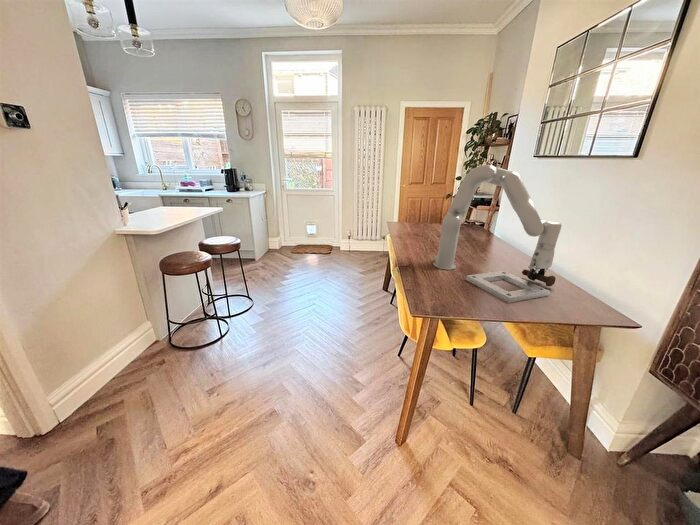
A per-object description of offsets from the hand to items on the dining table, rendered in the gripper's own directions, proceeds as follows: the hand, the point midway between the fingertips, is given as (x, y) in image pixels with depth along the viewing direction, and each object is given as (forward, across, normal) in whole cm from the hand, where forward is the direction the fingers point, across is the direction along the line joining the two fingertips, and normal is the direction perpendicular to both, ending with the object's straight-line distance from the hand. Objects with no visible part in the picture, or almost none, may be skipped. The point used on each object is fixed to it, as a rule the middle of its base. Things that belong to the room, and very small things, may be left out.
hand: (535, 278), depth 142 cm
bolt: (+1, 0, 0) cm, 1 cm away
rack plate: (+2, -21, 0) cm, 21 cm away
